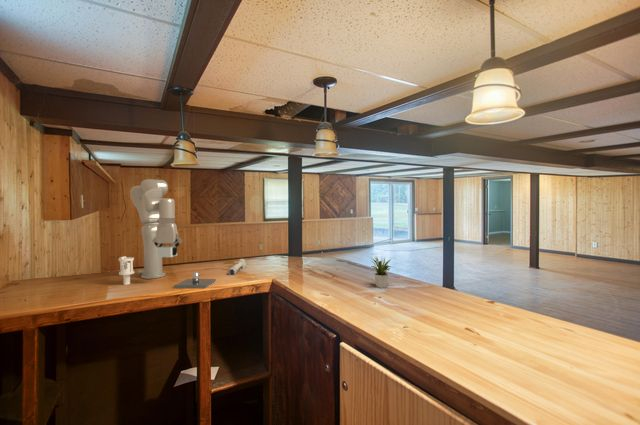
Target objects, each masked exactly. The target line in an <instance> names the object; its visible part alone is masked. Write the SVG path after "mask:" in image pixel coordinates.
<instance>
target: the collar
mask: <svg viewBox="0 0 640 425" xmlns="http://www.w3.org/2000/svg"><path fill="white" fill-rule="evenodd" d="M157 255H158V257H162V258H174V257H176V256H178V253H177V254H176V255H173V245H164V246H163V245H162V247H159V248H157Z"/></svg>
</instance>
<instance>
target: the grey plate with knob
mask: <svg viewBox="0 0 640 425" xmlns="http://www.w3.org/2000/svg"><path fill="white" fill-rule="evenodd" d="M191 277H192V278H186V279H184V280H182V281H180V282H178V283H176V284H174V285H173V288H174V289H206V288H208V287H209V285H210V286H212V285H213V284H215V283H216V282H217V279H216V278H200V272H199V271H192V276H191ZM215 281H216V282H215ZM214 282H215V283H214ZM212 283H213V284H212Z"/></svg>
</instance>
